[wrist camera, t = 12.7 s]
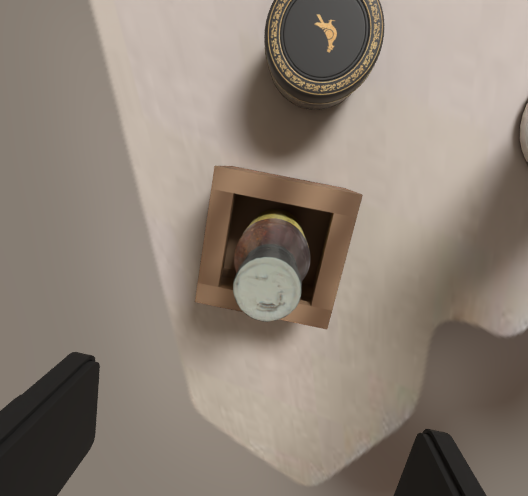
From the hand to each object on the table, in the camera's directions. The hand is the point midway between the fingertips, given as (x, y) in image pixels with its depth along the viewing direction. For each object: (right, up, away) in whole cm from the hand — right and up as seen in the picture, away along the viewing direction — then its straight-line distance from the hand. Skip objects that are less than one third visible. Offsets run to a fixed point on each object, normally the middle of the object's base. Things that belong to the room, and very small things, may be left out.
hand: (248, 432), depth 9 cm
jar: (+6, +25, +25) cm, 35 cm away
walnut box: (+2, +7, +29) cm, 30 cm away
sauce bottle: (+2, +7, +29) cm, 30 cm away
